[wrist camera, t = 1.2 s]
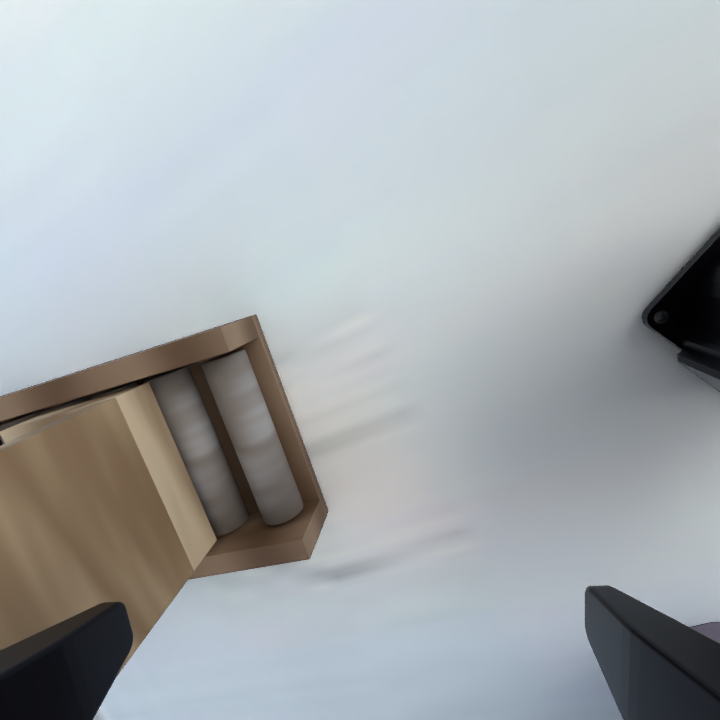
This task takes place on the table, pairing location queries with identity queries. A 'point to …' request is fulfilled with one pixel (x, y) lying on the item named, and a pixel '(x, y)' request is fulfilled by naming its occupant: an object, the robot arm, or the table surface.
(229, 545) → the roller track
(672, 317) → the robot arm
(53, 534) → the slab
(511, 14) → the table surface
